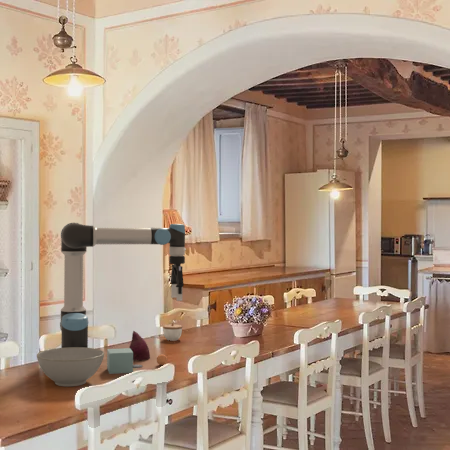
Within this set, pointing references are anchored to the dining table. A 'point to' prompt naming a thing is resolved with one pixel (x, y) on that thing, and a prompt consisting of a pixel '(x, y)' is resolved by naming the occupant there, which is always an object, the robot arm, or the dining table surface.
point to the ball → (162, 359)
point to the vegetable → (139, 347)
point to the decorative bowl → (70, 364)
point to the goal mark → (137, 366)
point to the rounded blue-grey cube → (119, 360)
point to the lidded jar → (172, 331)
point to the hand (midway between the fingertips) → (176, 299)
